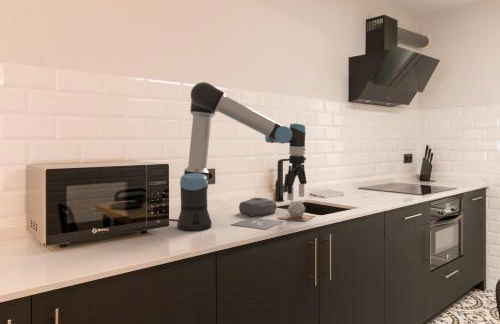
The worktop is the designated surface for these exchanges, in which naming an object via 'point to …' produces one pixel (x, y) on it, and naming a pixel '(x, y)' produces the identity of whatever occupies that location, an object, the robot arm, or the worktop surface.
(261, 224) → the tile
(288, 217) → the walnut pad
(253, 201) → the grey rounded bag
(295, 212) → the die
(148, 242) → the worktop surface
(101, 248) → the worktop surface
